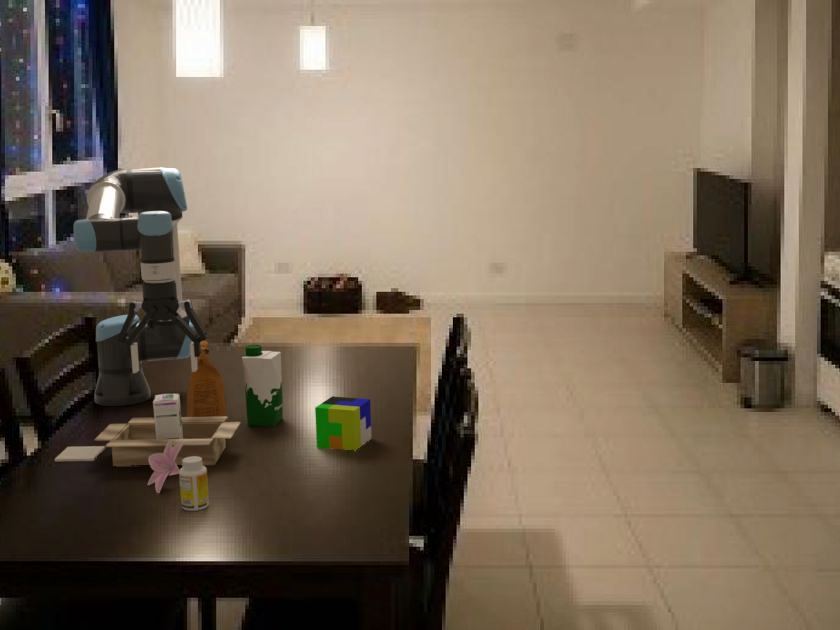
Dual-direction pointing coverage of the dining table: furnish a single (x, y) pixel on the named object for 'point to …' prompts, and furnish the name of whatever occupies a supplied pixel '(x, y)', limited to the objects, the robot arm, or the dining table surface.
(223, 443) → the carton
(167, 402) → the syrup box
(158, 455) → the lily
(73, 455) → the plate
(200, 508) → the supplement bottle
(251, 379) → the milk carton
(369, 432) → the puzzle toy
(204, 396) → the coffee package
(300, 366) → the dining table surface
